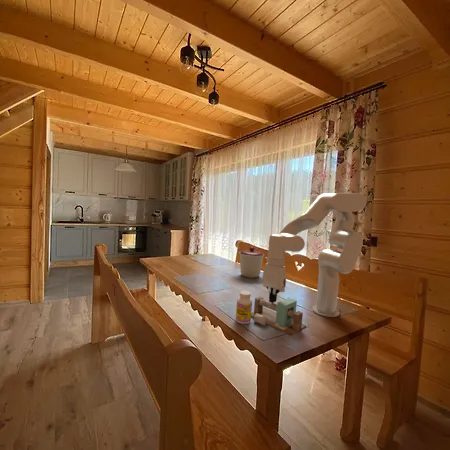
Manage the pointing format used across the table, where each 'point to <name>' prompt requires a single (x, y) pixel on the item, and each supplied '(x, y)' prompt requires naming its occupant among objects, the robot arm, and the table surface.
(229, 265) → the table surface
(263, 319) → the sleeve
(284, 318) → the collar
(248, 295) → the supplement bottle
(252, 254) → the canister
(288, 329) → the pipe rig
